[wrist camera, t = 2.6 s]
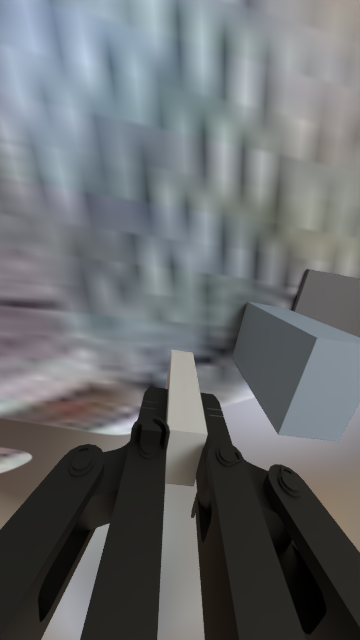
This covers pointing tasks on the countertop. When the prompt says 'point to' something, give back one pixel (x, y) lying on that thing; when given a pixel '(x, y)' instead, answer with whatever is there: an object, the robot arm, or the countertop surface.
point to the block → (299, 371)
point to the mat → (330, 300)
